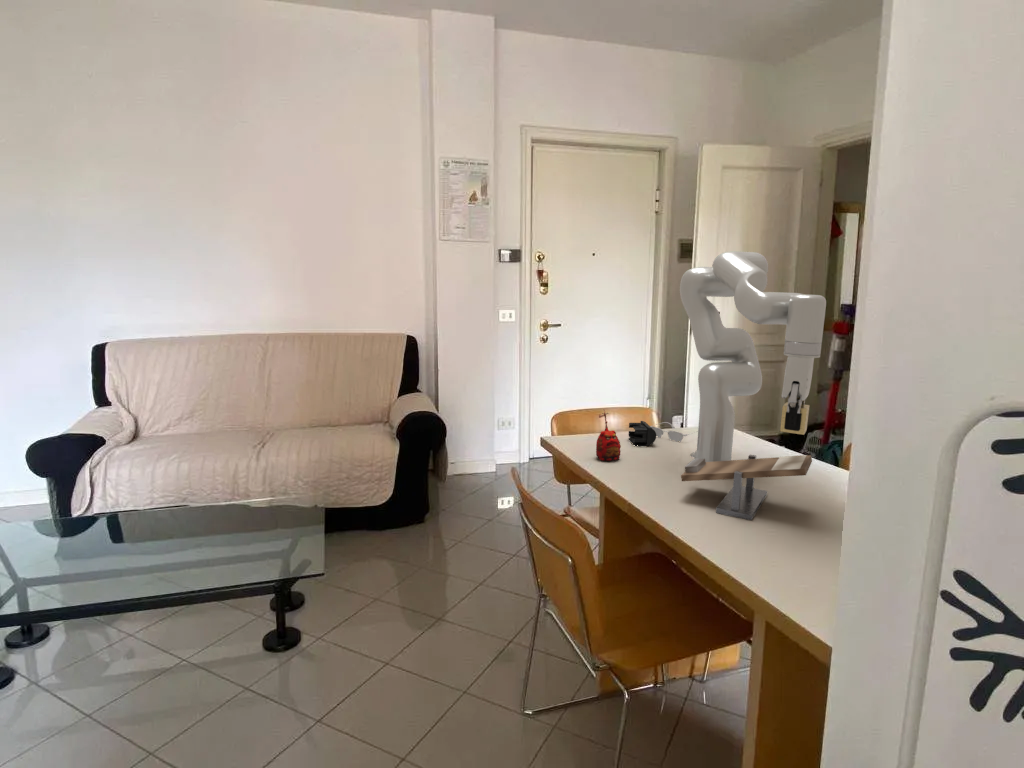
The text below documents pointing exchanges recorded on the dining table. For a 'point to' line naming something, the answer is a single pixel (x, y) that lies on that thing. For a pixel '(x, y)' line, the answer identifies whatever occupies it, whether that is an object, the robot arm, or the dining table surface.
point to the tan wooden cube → (803, 419)
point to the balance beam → (747, 468)
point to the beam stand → (742, 498)
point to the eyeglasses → (669, 433)
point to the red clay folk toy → (607, 444)
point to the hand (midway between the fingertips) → (793, 426)
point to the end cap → (642, 434)
